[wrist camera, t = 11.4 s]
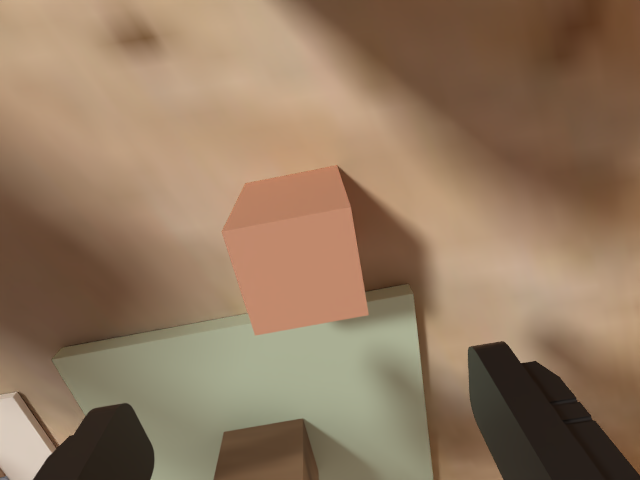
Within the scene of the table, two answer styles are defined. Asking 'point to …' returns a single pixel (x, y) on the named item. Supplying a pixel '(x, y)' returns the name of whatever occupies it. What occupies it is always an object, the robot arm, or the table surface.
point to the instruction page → (21, 440)
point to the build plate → (270, 389)
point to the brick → (296, 251)
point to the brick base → (267, 453)
